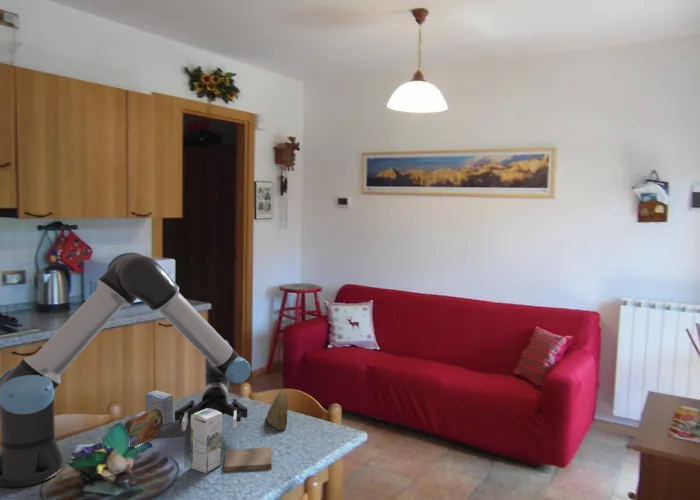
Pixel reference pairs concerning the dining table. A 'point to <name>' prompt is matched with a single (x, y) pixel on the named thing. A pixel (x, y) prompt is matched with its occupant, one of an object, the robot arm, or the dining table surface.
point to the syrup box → (206, 440)
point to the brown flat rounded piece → (144, 426)
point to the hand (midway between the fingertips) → (209, 425)
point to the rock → (278, 412)
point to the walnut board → (248, 459)
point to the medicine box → (161, 404)
